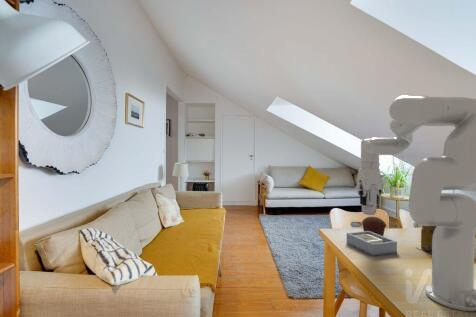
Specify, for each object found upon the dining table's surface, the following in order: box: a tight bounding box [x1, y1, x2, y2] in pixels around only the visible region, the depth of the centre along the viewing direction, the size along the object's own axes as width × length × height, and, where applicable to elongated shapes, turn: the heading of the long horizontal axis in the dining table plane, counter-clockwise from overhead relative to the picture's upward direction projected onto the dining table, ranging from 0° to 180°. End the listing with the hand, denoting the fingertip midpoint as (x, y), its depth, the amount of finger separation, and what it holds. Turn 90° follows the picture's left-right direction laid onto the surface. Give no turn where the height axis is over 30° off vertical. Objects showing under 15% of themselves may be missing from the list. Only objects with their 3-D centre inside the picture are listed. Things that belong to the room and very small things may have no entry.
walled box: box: [346, 230, 398, 257], centre depth 116 cm, size 16×13×5 cm
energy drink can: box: [361, 184, 378, 216], centre depth 117 cm, size 6×6×15 cm
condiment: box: [416, 225, 437, 255], centre depth 113 cm, size 7×8×12 cm
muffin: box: [361, 216, 387, 237], centre depth 132 cm, size 12×11×10 cm
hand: (369, 203), depth 117 cm, fingers closed on energy drink can, 6 cm apart
